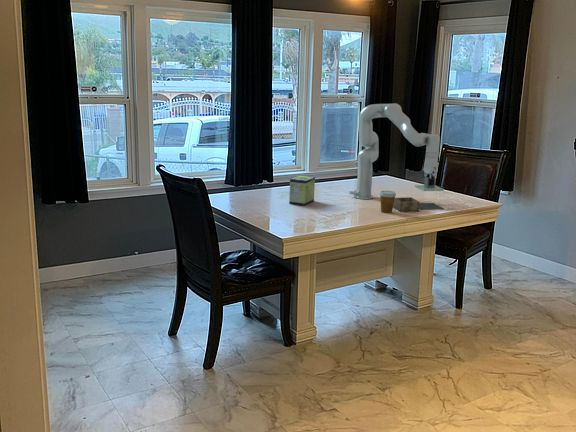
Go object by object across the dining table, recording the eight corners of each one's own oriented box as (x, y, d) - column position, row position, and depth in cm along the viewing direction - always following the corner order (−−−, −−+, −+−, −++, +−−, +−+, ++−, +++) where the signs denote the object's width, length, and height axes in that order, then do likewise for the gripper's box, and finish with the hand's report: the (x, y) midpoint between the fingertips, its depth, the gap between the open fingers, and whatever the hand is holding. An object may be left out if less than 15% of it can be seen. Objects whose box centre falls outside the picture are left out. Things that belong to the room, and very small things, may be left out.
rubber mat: (421, 209, 355) (421, 209, 355) (411, 203, 369) (411, 203, 369) (443, 209, 358) (444, 208, 358) (433, 203, 372) (433, 202, 372)
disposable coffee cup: (396, 211, 349) (397, 191, 346) (392, 214, 341) (393, 194, 338) (380, 209, 353) (382, 189, 350) (376, 212, 345) (377, 192, 342)
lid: (423, 191, 353) (424, 179, 352) (415, 186, 366) (415, 175, 364) (443, 190, 356) (444, 179, 354) (434, 186, 368) (435, 175, 367)
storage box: (399, 212, 348) (400, 202, 346) (392, 207, 359) (393, 197, 358) (418, 211, 350) (419, 201, 349) (410, 206, 361) (411, 197, 360)
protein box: (314, 201, 369) (315, 176, 365) (304, 206, 355) (305, 180, 352) (299, 199, 373) (299, 175, 369) (288, 203, 360) (289, 179, 356)
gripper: (420, 153, 363) (418, 182, 367) (432, 157, 347) (429, 187, 351) (431, 152, 364) (429, 181, 369) (444, 157, 348) (441, 187, 353)
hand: (429, 184), depth 360 cm, fingers closed on lid, 4 cm apart
